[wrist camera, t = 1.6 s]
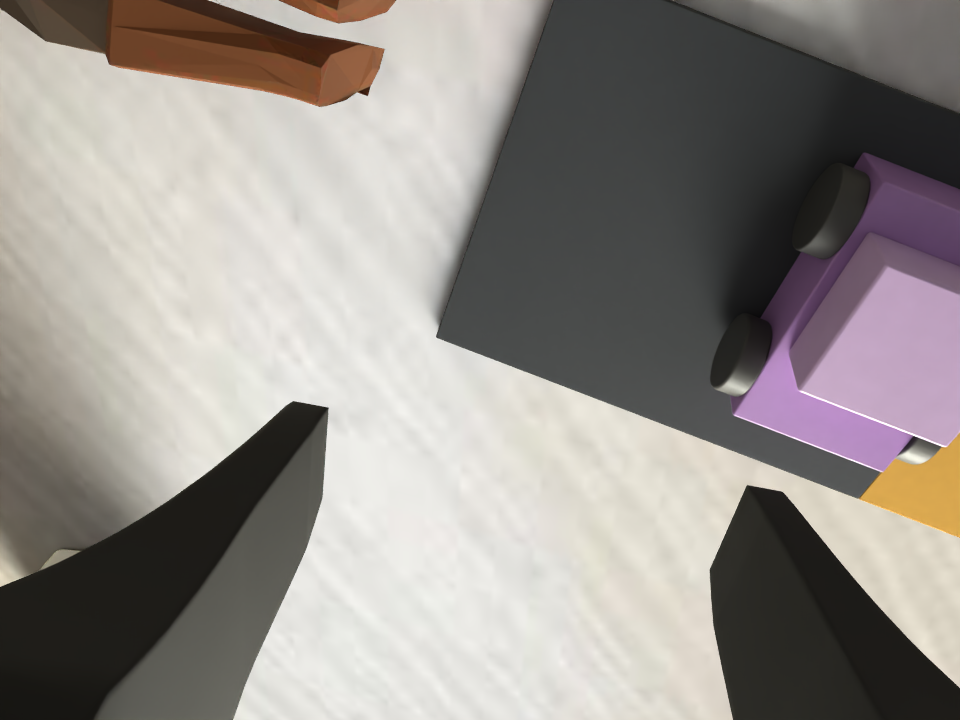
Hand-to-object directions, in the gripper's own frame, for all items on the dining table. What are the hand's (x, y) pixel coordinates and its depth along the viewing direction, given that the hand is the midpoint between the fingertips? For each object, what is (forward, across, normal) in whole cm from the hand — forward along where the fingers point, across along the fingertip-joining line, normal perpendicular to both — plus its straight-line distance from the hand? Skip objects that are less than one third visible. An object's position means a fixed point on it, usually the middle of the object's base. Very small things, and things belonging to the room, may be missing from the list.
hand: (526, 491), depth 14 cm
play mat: (+10, -8, 0) cm, 13 cm away
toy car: (+10, -9, -1) cm, 13 cm away
